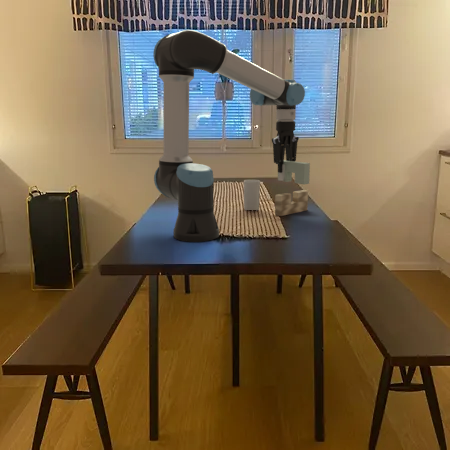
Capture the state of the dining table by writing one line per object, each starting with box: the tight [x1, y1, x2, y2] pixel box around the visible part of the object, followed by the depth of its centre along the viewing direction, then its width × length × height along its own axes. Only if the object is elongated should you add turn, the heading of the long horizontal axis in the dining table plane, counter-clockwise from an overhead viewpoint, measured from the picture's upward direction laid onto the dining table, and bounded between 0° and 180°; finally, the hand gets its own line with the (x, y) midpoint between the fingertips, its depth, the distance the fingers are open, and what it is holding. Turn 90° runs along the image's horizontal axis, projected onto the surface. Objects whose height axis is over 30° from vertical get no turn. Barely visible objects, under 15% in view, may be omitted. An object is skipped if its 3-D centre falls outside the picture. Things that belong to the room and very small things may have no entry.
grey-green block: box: [277, 159, 311, 185], centre depth 183 cm, size 3×14×8 cm, turn 40°
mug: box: [243, 179, 261, 212], centre depth 194 cm, size 10×7×12 cm, turn 172°
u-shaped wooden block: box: [274, 189, 309, 217], centre depth 187 cm, size 16×3×8 cm, turn 130°
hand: (284, 179), depth 188 cm, fingers closed on grey-green block, 3 cm apart
